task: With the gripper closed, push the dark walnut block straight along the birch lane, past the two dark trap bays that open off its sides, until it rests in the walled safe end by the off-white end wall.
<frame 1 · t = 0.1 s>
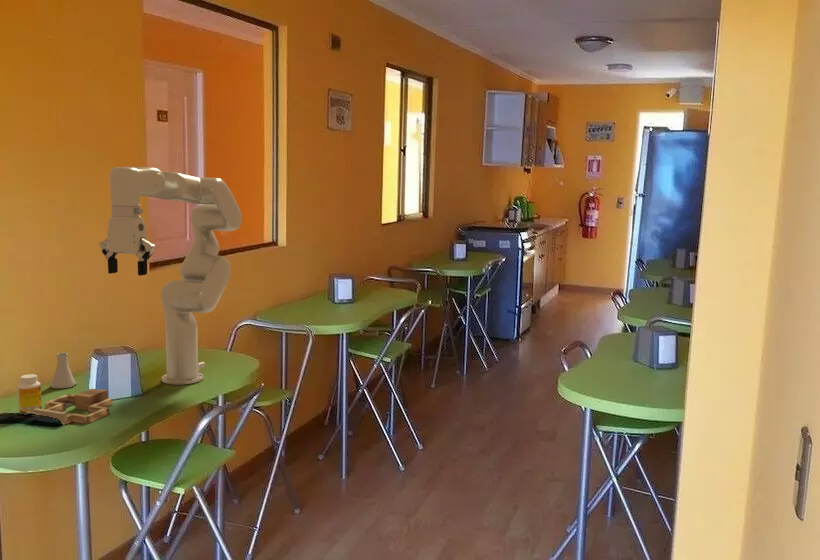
hand: (127, 274, 205), 37 cm above the table, tool pointing down, fingers open, 9 cm apart
walnut block: (91, 406, 206), on the table
supplement bottle: (30, 413, 198), on the table
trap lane: (74, 412, 199), on the table
flask: (63, 386, 224), on the table
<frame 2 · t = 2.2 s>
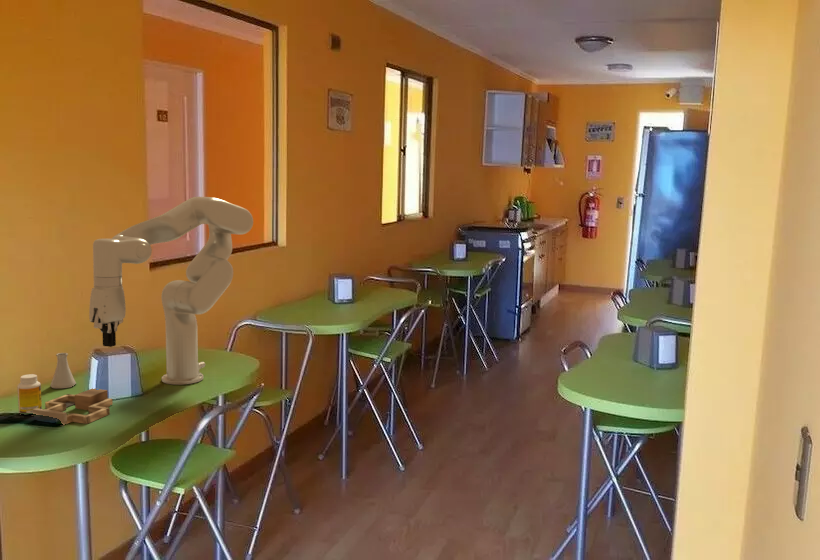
hand: (109, 345, 211), 15 cm above the table, tool pointing down, fingers closed
nothing on the table moved.
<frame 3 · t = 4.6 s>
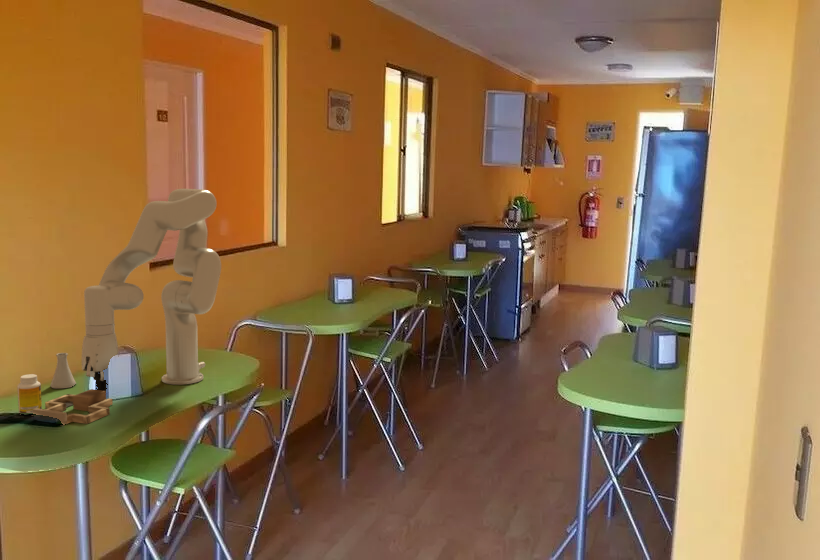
hand: (102, 392, 209), 2 cm above the table, tool pointing down, fingers closed
walnut block: (90, 407, 205), on the table, touching gripper
everything else where it was.
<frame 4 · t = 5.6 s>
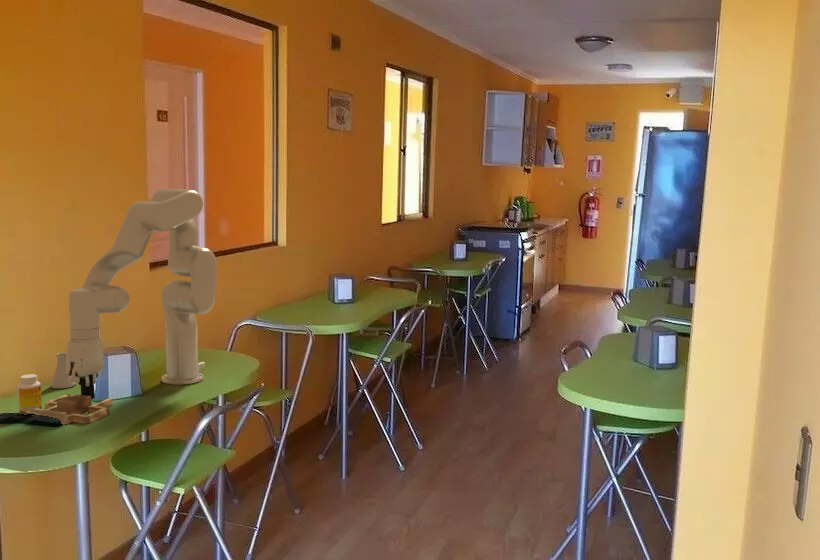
hand: (88, 398, 204), 2 cm above the table, tool pointing down, fingers closed
walnut block: (74, 413, 199), on the table
everything else where it was.
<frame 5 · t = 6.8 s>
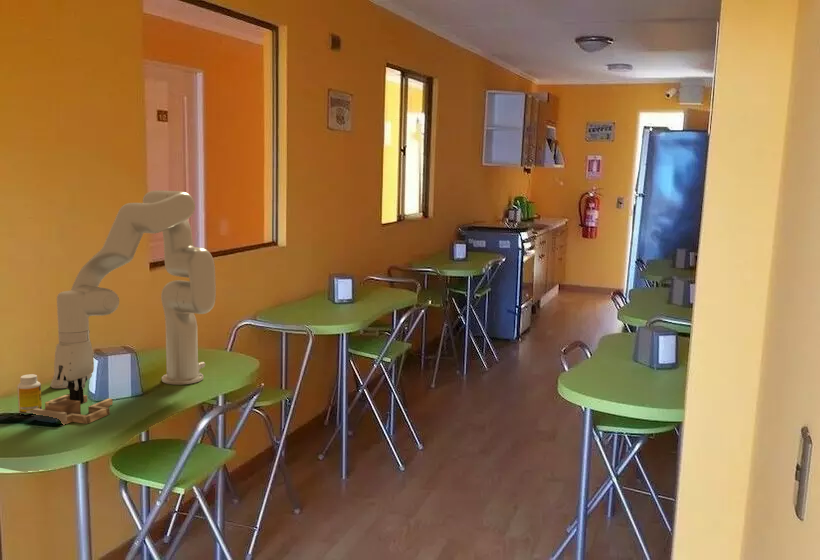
hand: (76, 403, 200), 2 cm above the table, tool pointing down, fingers closed
walnut block: (63, 418, 195), on the table
everything else where it was.
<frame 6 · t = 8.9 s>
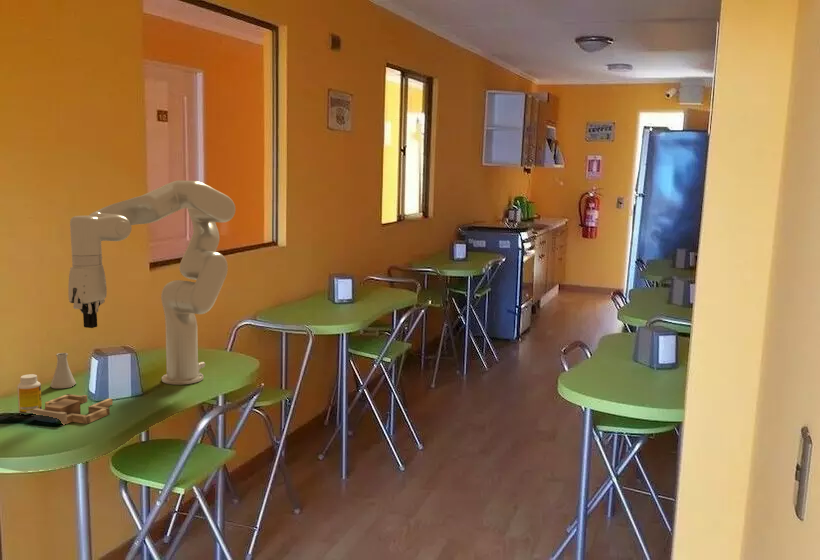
hand: (90, 327, 204), 22 cm above the table, tool pointing down, fingers closed
nothing on the table moved.
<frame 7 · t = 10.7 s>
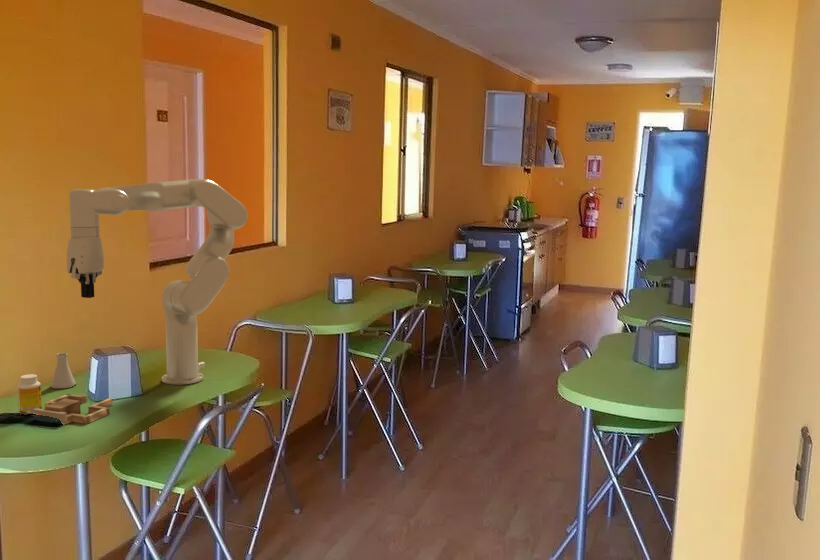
hand: (87, 297, 211), 29 cm above the table, tool pointing down, fingers closed
nothing on the table moved.
at the end: walnut block 1.1 cm from the target spot on the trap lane, point 0.0 cm above the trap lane's base; walnut block tilted 0° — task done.
